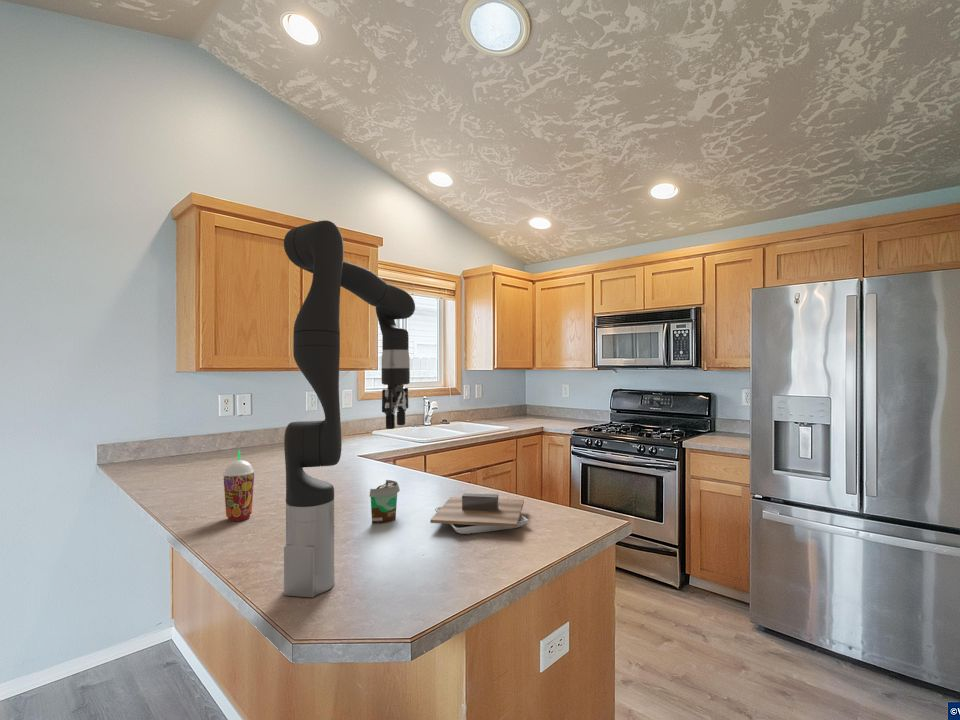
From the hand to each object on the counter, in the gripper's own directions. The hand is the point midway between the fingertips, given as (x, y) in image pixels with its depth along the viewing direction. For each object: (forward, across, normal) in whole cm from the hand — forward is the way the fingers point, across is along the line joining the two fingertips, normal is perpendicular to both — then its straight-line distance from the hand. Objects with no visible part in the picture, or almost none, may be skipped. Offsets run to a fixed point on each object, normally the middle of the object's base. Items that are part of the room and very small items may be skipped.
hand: (395, 426), depth 130 cm
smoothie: (+28, +4, +50) cm, 58 cm away
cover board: (+26, +12, -21) cm, 35 cm away
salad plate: (+29, +11, -21) cm, 37 cm away
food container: (+28, +10, +6) cm, 31 cm away
